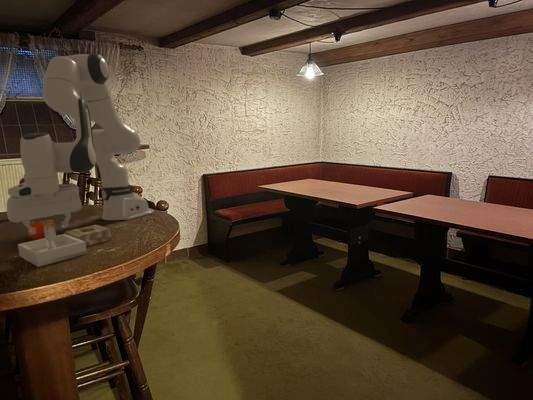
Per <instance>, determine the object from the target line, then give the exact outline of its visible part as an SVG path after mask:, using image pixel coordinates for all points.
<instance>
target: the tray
mask: <svg viewBox="0 0 533 400" xmlns="http://www.w3.org/2000/svg"><path fill="white" fill-rule="evenodd" d="M56 238H57V245H58V248H53V249H49V250H47V246H46V239H45V238H43V239H39V240H31V241H28V242H22V243H17V248H18V254H19V257H20V258H22V259H24V260H25V261H27V262H29V263H31V264H32V265H34V266H35V267H38V268H39V267H40V268H41V267H42V266H47V265H50V264H53V263H58V262H61V261H64V260H68V259H69V260H70V259H73V258H77V257H80V256H84V255H87V254H88V252H87V251H88V250H87V246H86V244H85V241H82V240H80V239H77V238H74V237H71V236H69V235H66V234H65V233H62V234H59V235H57V234H56Z"/></svg>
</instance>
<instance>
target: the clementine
mask: <svg viewBox="0 0 533 400" xmlns="http://www.w3.org/2000/svg"><path fill="white" fill-rule="evenodd" d="M43 222H44V221H42V220H32V221H31V223H30V224H29V225H30V226H31V227H32V228H33V227H34V228H36V234H32V235H31V234H29V230H28V228H27V227H26V233H27V236H28V237H30V239H32V240H33V241H35V240H39V239H44V238H45V233H44V226H43Z"/></svg>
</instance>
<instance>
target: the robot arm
mask: <svg viewBox="0 0 533 400" xmlns="http://www.w3.org/2000/svg"><path fill="white" fill-rule="evenodd" d="M109 68H110V67H109V65H108V62H107V60H106V58H104V57H103V56H102V55H101V54H99V53H98V54H97V53H89V54H88V53H86V54H84V53H81V54H80V53H79V54H72V55H66V56H63V55H61V56H60V55H57V56H54V57H53V58H50V59H49V60H48V61H47V63H46V66H45V74H44V79H43V84H42V97H43V100H44V103H45V104H47V106H48V107H49V108H51V109H52V110H53V111H55V112H57V113H60V114H61V115H64V116H69V117H71V118H74V123H75V132H76V139H75V140H74V141H69V142H55V141H53V140H52V138H51V136H50V134H49V133H48V132H40V131H39V132H31V133H26V134H23V136H21V137H20V144H19V145H20V147H19V148H20V149H19V150H20V159H21V164H22V167H23V169H24V174H25V176H24V175H23V178H24V179H25V182H24V183H22V184H19V183H18V184H17V185H14V186H12V187H10V188H8V190H7V194H8V196H10V197H8V199H7V201H6V215H7V219H8V220H9V221H10V222H12V223H14V224H15V223H20V222H22V224H23V225H24V226H25V227H26V229H27V228H28V230H29V234H31V235H32V234H36V228H34V227H33V228H32V227H31V226H30V224H31V223H32V221H33V220H37V219H42V218H47V217H53V216H58V215H63V216H64V219H63V221H61V222H60V223H61V228H69V225H70V224H69V221H70V220H71V217H72V213H75V212H79V211H81V210H82V208H83V206H82V202H81V201H82V200H81V198H80V188H79V186H78V185H77V184H76V183H73V182H68V183H59V182H60V181H59V175H58V173H59V174H60V173H61V174H63V173H81V174H83V173H84V174H86V173H89V172H90V171H91V170H92V169H93V168H94V167H95V166H96V165H97V167H98V169H99V173H100V179H101V196H102V199H103V207H102V208H103V212H102V217H101V219H102V220H105V221H120V220H121V221H124V220H126V221H127V220H128V221H129V220H133V219H136V218H139V217H140V218H141V217H144V216H147V215H150V214H155V210H154V209H152V208H149V204H148V202H147V199H146V198H144V197H142V196H140V195H139V194H137V193H136V192H135V191H136V190H137V189H138V185H135V184H134V185H131V184H130V183H129V174H128V168H127V167H126V165H124V164H123V163H121V162H119V161H118V160H117V159H116V157H115V156H116V155H128V154H132V153H135V152H138V150H139V149H140V147H141V138H140V135H139V134H138V132H137V131H136V130H135V129H133V128H131V127H130V126H129V125H127V124H126V123H125V122H124V121H123V119H122V118H121V117H120V115H119V113H118V112H117V109H116V107H115V103H114V101H113V97H112V94H111V91H110V88H109V85H108V83H107V81H108V79H109V76H110V69H109ZM92 122H93V123H95V124H97V125H98V126H99V127H101V128H102V129H93V128H92ZM92 129H93V130H92Z"/></svg>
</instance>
